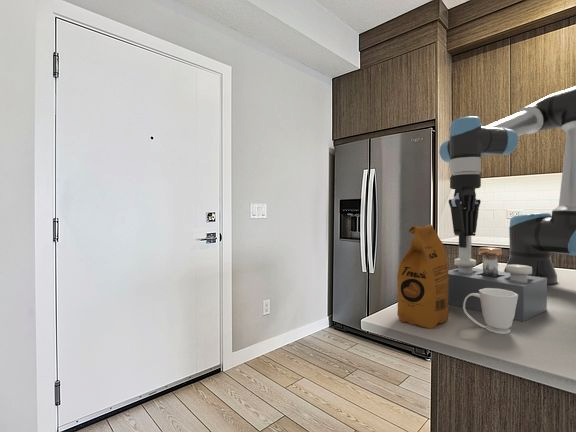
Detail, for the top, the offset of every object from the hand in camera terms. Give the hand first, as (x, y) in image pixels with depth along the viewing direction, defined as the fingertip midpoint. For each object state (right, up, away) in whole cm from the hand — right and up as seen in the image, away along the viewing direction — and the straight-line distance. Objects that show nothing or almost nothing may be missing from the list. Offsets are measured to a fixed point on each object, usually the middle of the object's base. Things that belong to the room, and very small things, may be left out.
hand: (464, 259), depth 90 cm
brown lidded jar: (+4, -5, -5) cm, 8 cm away
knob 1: (0, -9, 0) cm, 9 cm away
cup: (-6, -12, -21) cm, 25 cm away
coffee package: (-18, -12, -15) cm, 26 cm away
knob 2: (+7, -9, -11) cm, 16 cm away
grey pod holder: (+4, -12, -5) cm, 13 cm away
